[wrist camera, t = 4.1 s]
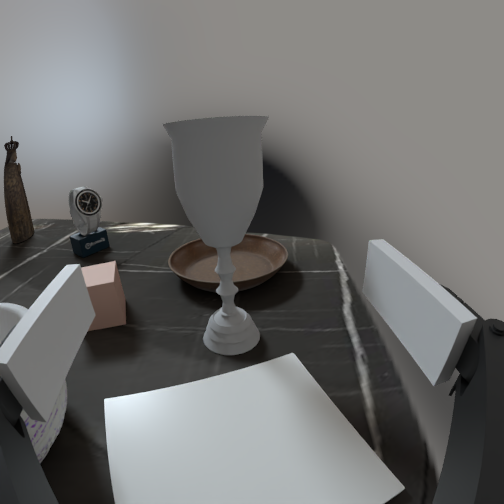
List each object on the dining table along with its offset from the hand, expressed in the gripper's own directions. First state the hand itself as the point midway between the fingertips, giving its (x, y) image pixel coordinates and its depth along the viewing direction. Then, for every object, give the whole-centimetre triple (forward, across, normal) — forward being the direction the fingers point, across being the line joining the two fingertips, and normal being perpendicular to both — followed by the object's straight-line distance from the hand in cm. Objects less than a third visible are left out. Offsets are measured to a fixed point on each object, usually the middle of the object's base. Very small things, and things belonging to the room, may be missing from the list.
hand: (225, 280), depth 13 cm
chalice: (+10, 0, -11) cm, 15 cm away
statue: (+48, -50, -11) cm, 70 cm away
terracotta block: (+14, -14, -11) cm, 23 cm away
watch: (+35, -23, -11) cm, 43 cm away
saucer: (+23, 0, -12) cm, 26 cm away
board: (-3, -1, -11) cm, 12 cm away
